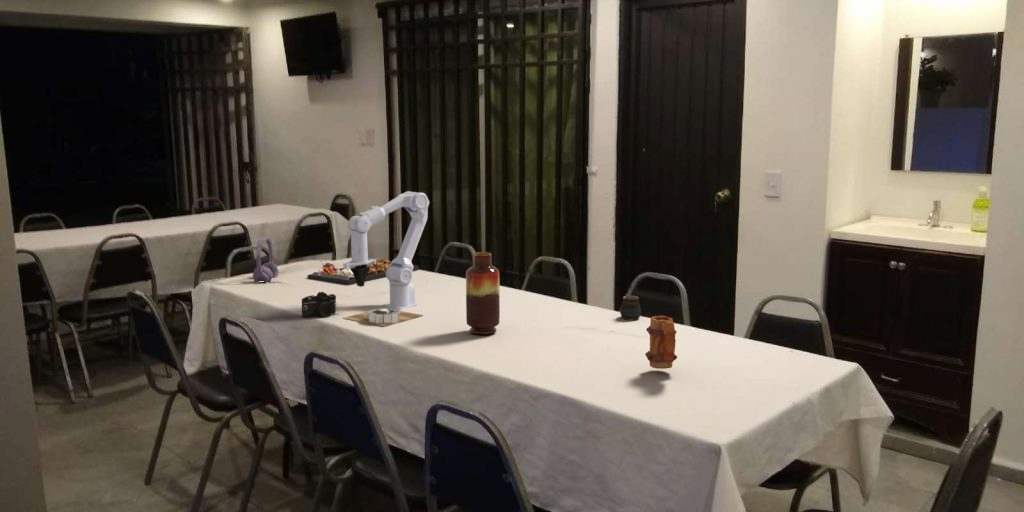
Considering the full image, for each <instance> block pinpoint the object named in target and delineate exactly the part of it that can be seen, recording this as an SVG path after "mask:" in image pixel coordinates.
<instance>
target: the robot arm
mask: <svg viewBox="0 0 1024 512" xmlns="http://www.w3.org/2000/svg"><path fill="white" fill-rule="evenodd" d="M429 205H430V200H429V198H428V196H427V194H426V193H424V192H417V191H409V190H408V191H405V192H403V193H400V194H399V195H398V196H396V197H395V198H393V199H391V200H390V201H388V202H387V203H384V204H383V205H382V206H377V205H372V206H370V207H369V208H370V209H368V210H366V211H364V212H363V211H361V212H360V213H359V215H353V216H352V217H350V218H349V220H348V222H347V228H348V230H349V231H350V244H351V260H350V261H348V262H344V263H343V266H342V268H343V269H350V268H351V271H352V273H353V274H354V276H355V279H356V282H357V284H356V286H357V287H360V288H361V287H364V286H365V283H366V282H365V279H366V276H367V273H368V271H369V270H370V267H369V266H367V265H371V264H376V258H375V259H373V258H374V257H372V259H371V258H369V256H368V255H369V253H368V249H369V248H368V231H370V228H371V227H372V226H375V225H377V224H379V223H380V222H382V221H384V219H385V217H386V215H388V214H390V213H393V212H394V211H396V210H399V209H401V208H404V209H405V210H406V211H407V212H408V213H409V214H410V217H411V220H410V222H409V226H408V227H407V232H406V233H405V236H404V239H403V241H402V244H401V245H400V248H399V251H398V254H397V256H396V257H395V258H394V259H393V260H391V262H392V263H391V265H390V266H389V267H388V268H387V270H386V277H385V278H386V279H387V280H388V283H389V304H386V305H384V307H385V308H392V309H397V310H403V309H407V308H411V307H416V306H417V305H418V304H417V303H416V289H415V286H414V284H413V283H412V282H411V281H412V279H413V272H414V271H413V268H414V267H413V265H414V264H413V263H412V260H413V258H414V255H415V253H416V250H417V247H418V244H419V242H420V239H421V237H422V234H423V231H424V229H425V226H426V223H427V221H428V214H429V213H428V209H429ZM412 271H413V272H412Z"/></svg>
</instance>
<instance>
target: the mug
mask: <svg viewBox="0 0 1024 512" xmlns="http://www.w3.org/2000/svg"><path fill="white" fill-rule="evenodd" d="M645 330H646V332H647V333H648V335H649V350H648V351H647V352H646V353H645V357H646V359H647V360H648V361H649V366H650V367H651V368H653V369H662V370H664V369H671V368H672V367H673V363H674V361H676V360H677V358H678V355H677V354H675V350H676V341H677V340H676V334H677V330H676V329H675V323H674V319H673V318H672V317H669V316H666V315H658V316H657V315H654V316H651V317H650V325H649V326H648V327H647V328H646V329H645Z"/></svg>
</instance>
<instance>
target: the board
mask: <svg viewBox="0 0 1024 512" xmlns="http://www.w3.org/2000/svg"><path fill="white" fill-rule="evenodd" d="M399 311H400V320H399V321H398V322H394V323H388V324H374V323H369V322H368V321H367V312H368V311H366V312H362V313H358V314H354V315H349V316H346V317H342V319H343V320H347V321H352V322H357V323H362V324H367V325H373V326H377V327H382V328H385V327H389V326H392V325H396V324H399V323H403V322H407V321H410V320H411V321H412V320H414V319H416V318H421V317H424V314H419V313H415V312H413V313H412V312H408V311H402V310H399Z"/></svg>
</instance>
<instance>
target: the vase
mask: <svg viewBox="0 0 1024 512" xmlns="http://www.w3.org/2000/svg"><path fill="white" fill-rule="evenodd" d="M500 293H501V292H500V271H499V269H498V268H496V266H493V264H492V253H491V252H487V251H486V252H481V251H480V252H474V253H473V266H470V267H469V268H468V269H467V270H466V273H465V302H466V303H465V304H466V305H465V308H466V309H465V311H466V312H465V313H466V315H465V317H466V325H467V326H469V327H470V328H469V333H471V334H474V335H489V334H490V335H491V334H495V333H497V331H498V330H497V328H496V327H497V326H498V325H499V324H500V302H501V301H500V297H501V296H500Z"/></svg>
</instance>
